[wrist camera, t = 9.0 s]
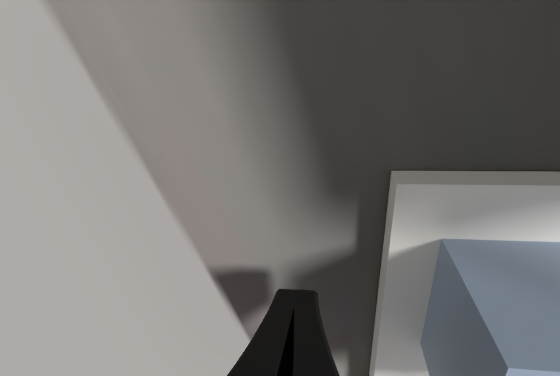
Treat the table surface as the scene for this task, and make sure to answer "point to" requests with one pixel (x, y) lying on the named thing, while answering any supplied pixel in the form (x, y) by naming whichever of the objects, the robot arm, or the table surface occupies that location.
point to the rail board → (447, 225)
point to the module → (494, 309)
